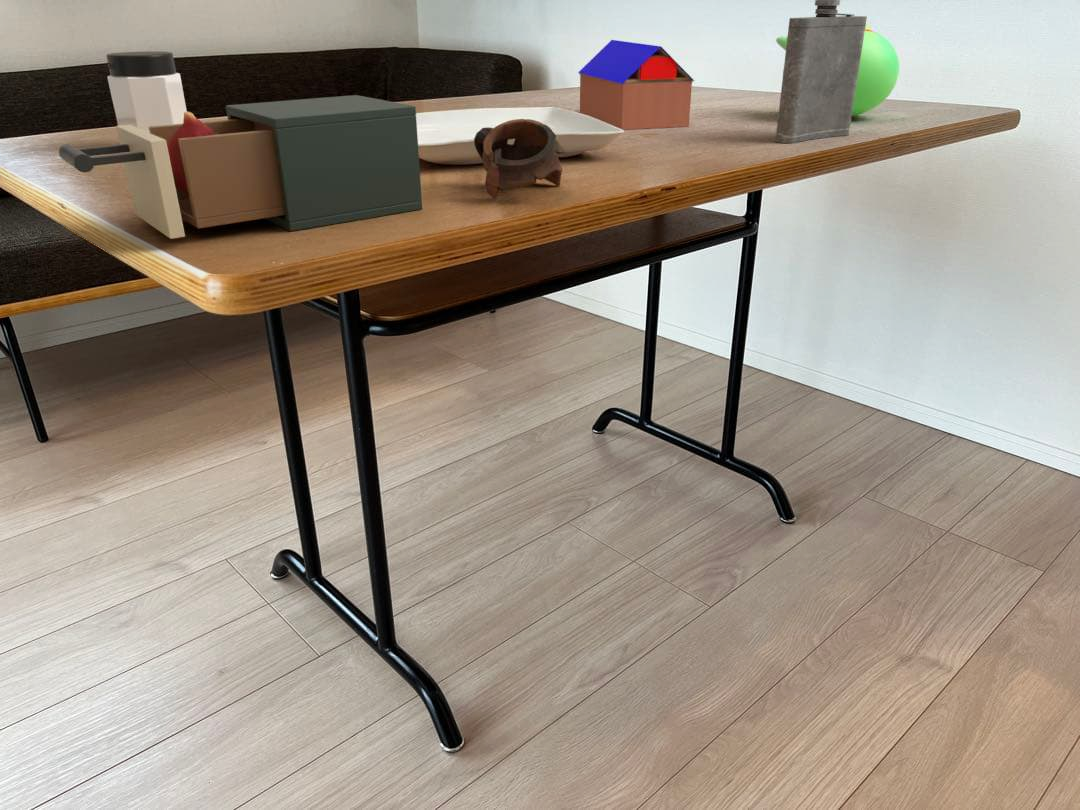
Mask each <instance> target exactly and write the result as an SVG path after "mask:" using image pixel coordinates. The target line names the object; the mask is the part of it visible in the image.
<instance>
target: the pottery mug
mask: <svg viewBox="0 0 1080 810" xmlns="http://www.w3.org/2000/svg"><path fill="white" fill-rule="evenodd" d="M555 138H556V135H555V133H554V132H553V131H552V130H551V129H550V128H549V127H548V126H547V125H545V124H542V123H541V122H538V121H535V120H530V119H526V120H525V119H515V120H510V121H507V122H504V123H502V124H500V125H498V126H496V127H495V128H489V127H487V128H482V129H481V130H480V131H479V132H477V133H476V136H475V138H474V144H475V148H476V150H477V152H478V154H479V156H480V157H481V159H482V160H483V163H482V165H483V168H484V169H485V171H486V175H485V179H484V185H483V186H484V189H485V193H486V194H488V195H489V196H490V197H491V198H492V199H494V200H497V198H498V197H499V194H500V191H501V192H502V191H507V190H512V189H517V188H521V187H527V186H533V185H535V184H536V183H537V180H539V181H542V180H545V181H548V182H549V183H552V184H554V185H555V186H556V187H560V186H561V181H562V175H563V174H562V173H563V171H564V170H563V167H562V164H561V161H560V159H559V157H557V155H556V153H557V154H561V153H565V150H564V148H563V147H562V146H561V145H560V143H559V142H557V141H556V139H555ZM508 139H515V141H514V144H513V145H512V144H507V142H508Z"/></svg>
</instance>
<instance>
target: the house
mask: <svg viewBox="0 0 1080 810" xmlns="http://www.w3.org/2000/svg"><path fill="white" fill-rule="evenodd" d="M577 73H578V74H579V113H581V114H584V115H587V116H590V117H593V118H596V119H598V120H600V121H603V122H605V123H608V124H610V125H612V126H615V127H617V128H620V129H622V130H624V131H626V130H627V131H628V130H643V129H644V130H645V129H662V128H663V129H664V128H683V127H684V128H685V127H689V126H690V114H691V104H692V103H691V101H692V88H693V82H695V80H694V78H693V77H692V76H691V75H689V74H688V72H687V71H686V70H685V69H684V68H683V67H682V66H681V65H680V64H679V63H678V62H677V61H676V60H675V59H674V58H673V56H671V55H670V54H669V52H667V51H666V50H665V48H663V46H660V45H653V44H646V43H638V42H631V41H623V40H617V39H611V40H609V42H608V43H606V45H604V47H603V48H601V49H600V51H599V52H597V54H595V55H594V56H593V57H592V58H591V59H590V60H589V61H588V62H587V63H586V64H585V65H584V66H583V67H582V68H581V69H580V70H579V71H578V72H577Z"/></svg>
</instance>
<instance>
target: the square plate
mask: <svg viewBox="0 0 1080 810" xmlns="http://www.w3.org/2000/svg"><path fill="white" fill-rule="evenodd" d="M515 119H525V120H526V119H530V120H535V121H538V122H541V123H542V124H545V125H547V126H548V127H549V128H550V129H551V130H552V131H553V132H554V133H555V135H556V138H555V139H556V141H557V142H559V143H560V145H561V146H562V147H563V148H564V150H565V153H561V154H557V153H556V155H557V157H558V158H567V157H573V156H577V155H580V154H582V153H583V152H590V151H597V150H600V149H604V148H606V147H608V146H609V145H611V144H612V143H614V142H615V141H616V140H618V138H619V137H620V136H622V134H624V133H625V130H622V129H620V128H617V127H615V126H612V125H610V124H608V123H605V122H603V121H600V120H598V119H596V118H593V117H590V116H587V115H584V114H581V113H580V112H577V111H573V110H569V109H565V108H561V107H557V106H539V107H538V106H536V107H535V106H534V107H533V106H532V107H487V108H485V107H484V108H482V107H481V108H464V109H449V110H448V109H447V110H438V111H426V112H425V111H424V112H416V122H417V137H418V152H419V159H421V160H423V161H426V162H428V163H429V162H430V163H432V164H438V165H448V166H449V165H451V166H461V165H462V166H464V165H465V166H466V165H478V164H483V160H482V159H481V157H480V156H479V154H478V152H477V150H476V148H475V144H474V138H475V136H476V133H477V132H479V131H480V130H481V129H482V128H487V127H489V128H495V127H496V126H498V125H500V124H502V123H504V122H507V121H510V120H515ZM514 141H515V139H508V142H507V144H512V145H513V144H514Z"/></svg>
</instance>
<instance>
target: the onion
mask: <svg viewBox="0 0 1080 810" xmlns="http://www.w3.org/2000/svg"><path fill="white" fill-rule="evenodd" d="M203 122H204V121H201V120H200V119H199V118H197V117H196V116H195V115H194V113H192V112H191V111H187V112H184V122H183V125H182V126H181V127H179V128H178V129H177V130H176V131H175V132H174V133H173V135H172V136H171V137H170V139H169V140H168V142H167V148H168V153H169V158H170V163H171V168H172V173H173V178H174V183H175V186H176V187H177V188H179V189H180V190H181V191H183V192H184V193H185V194H187V195H188V196H189V193H188V188H187V182H186V177H185V172H184V167H183V161H182V156H181V151H180V146H179V141H178V139H179V138H189V137H199V136H210V135H219V134H218V133H217V132H215V131H214V130H213V129H211V128H210V127H209V126H207V125H205V124H204V123H203Z"/></svg>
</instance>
